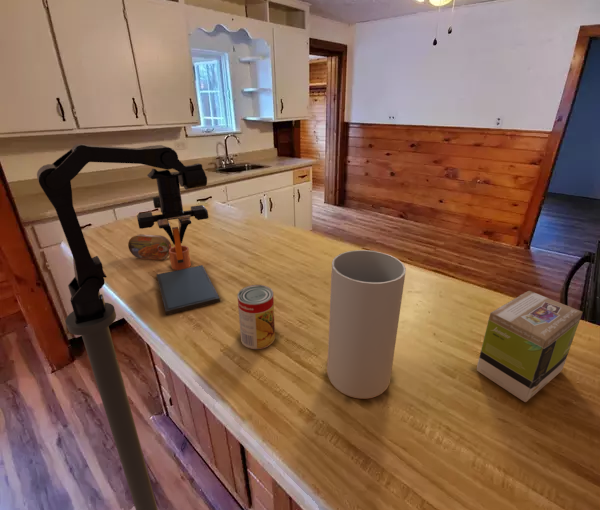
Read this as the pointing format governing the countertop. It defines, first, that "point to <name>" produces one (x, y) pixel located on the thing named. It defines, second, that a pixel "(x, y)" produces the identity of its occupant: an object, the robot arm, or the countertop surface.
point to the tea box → (527, 343)
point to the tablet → (186, 289)
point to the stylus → (177, 244)
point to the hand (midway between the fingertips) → (177, 243)
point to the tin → (149, 246)
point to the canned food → (256, 316)
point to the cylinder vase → (363, 321)
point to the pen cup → (186, 258)
